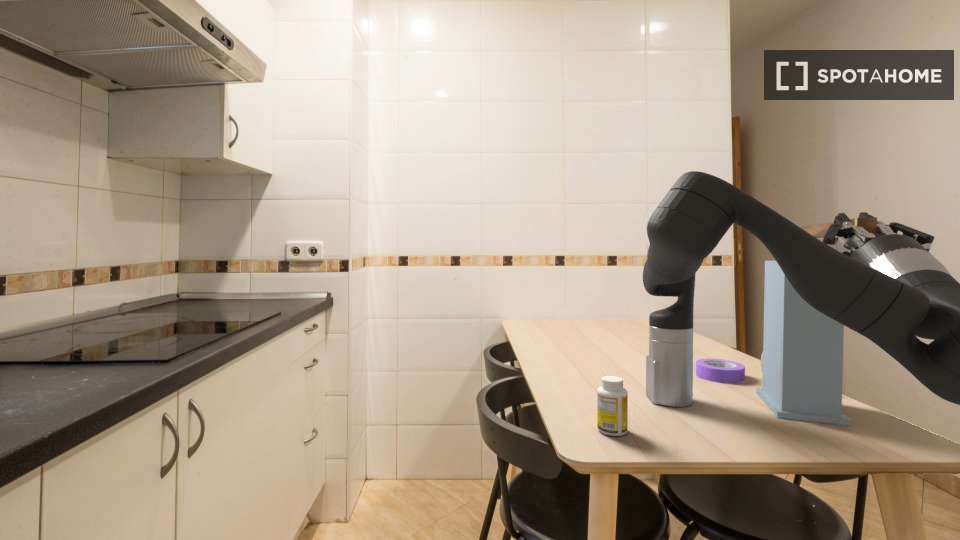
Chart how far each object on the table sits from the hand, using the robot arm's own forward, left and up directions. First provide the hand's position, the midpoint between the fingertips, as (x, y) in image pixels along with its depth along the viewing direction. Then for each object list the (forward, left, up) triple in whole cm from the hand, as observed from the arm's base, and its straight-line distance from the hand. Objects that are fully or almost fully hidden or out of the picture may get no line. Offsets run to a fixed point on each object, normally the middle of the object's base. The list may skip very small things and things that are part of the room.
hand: (850, 217), depth 71 cm
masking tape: (0, +44, -40) cm, 59 cm away
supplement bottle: (-37, +6, -40) cm, 55 cm away
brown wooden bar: (+2, +6, -3) cm, 7 cm away
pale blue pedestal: (+6, +21, -40) cm, 45 cm away
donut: (+11, +38, -40) cm, 56 cm away
